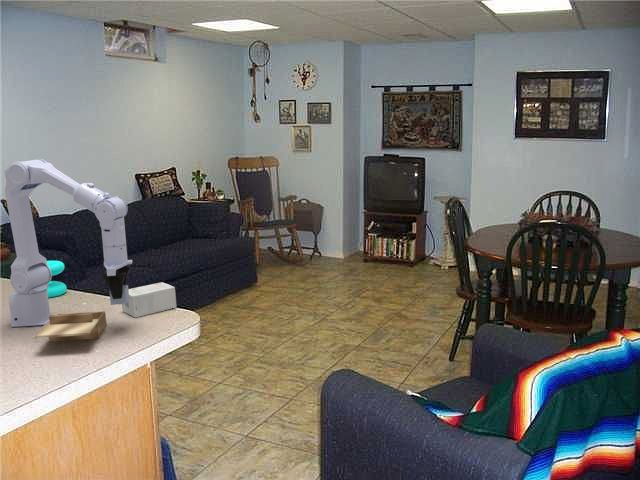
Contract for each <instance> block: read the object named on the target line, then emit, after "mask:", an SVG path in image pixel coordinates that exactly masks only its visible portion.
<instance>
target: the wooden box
mask: <svg viewBox="0 0 640 480" xmlns="http://www.w3.org/2000/svg"><path fill="white" fill-rule="evenodd" d="M83 313H92V318H93V319H99V321H98V323H97V324H96V326H95V327H94V329H93V330H92V332H91V333H90V335H77V336H60V337H48V341H49V342H61V341H62V342H63V341H66V342H67V341H79V340H80V341H81V340H94V339H95V340H97V339H100V337H102V336H101V335H102V334H103V333H104V330H105V329H106V328H107V317H106V311H91V312H89V311H88V312H86V311H85V312H73V313H72V312H71V313H69V312H67V313H58V314H57V315H65V314H83Z"/></svg>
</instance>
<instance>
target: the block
mask: <svg viewBox="0 0 640 480" xmlns="http://www.w3.org/2000/svg"><path fill="white" fill-rule="evenodd" d="M128 289H129V285H128V284H126V285H123V293H122V298H121V299H113V297H112V295H111V292H110V289H109V302H110V305H113V306H114V305H122V304H127V303H128V301H129V290H128Z"/></svg>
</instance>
